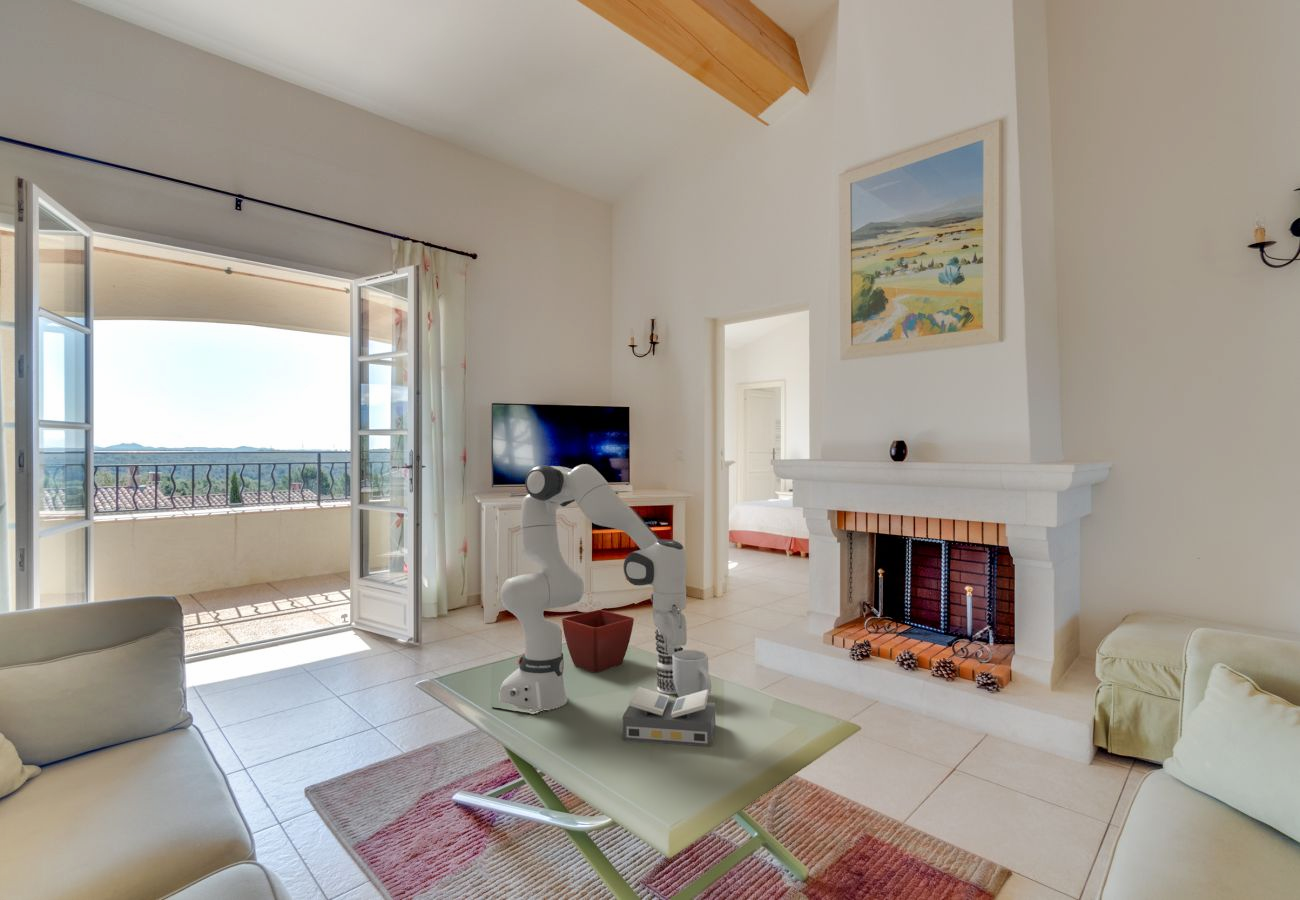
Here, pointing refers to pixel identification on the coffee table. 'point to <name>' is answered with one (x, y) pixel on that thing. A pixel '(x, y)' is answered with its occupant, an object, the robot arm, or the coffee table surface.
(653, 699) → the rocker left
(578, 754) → the coffee table surface
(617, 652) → the plant pot
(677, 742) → the switch console
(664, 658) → the black and white cylinder
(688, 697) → the rocker right
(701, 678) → the mug
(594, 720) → the coffee table surface
